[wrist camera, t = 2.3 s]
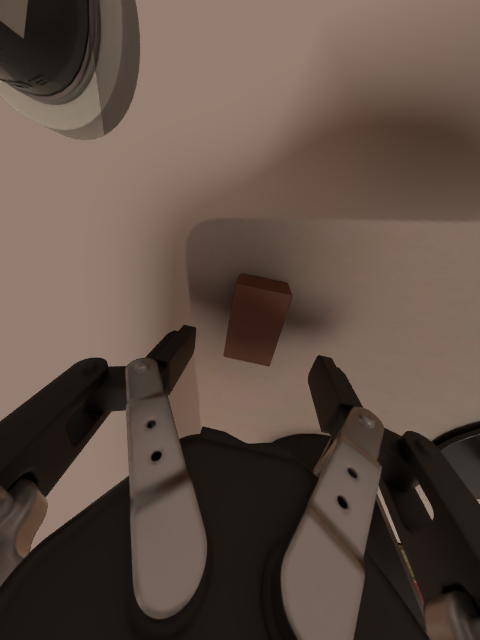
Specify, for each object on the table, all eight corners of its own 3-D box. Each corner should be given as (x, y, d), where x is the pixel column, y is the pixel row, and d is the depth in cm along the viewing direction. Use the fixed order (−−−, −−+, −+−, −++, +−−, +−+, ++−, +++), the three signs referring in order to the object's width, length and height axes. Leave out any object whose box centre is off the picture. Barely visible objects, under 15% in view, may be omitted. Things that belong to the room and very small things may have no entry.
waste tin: (275, 424, 23) (284, 601, 12) (382, 448, 23) (489, 653, 12) (253, 474, 30) (246, 621, 19) (336, 494, 29) (379, 655, 18)
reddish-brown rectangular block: (240, 273, 15) (235, 283, 13) (288, 282, 15) (293, 295, 12) (229, 337, 18) (223, 356, 16) (268, 346, 18) (269, 366, 15)
